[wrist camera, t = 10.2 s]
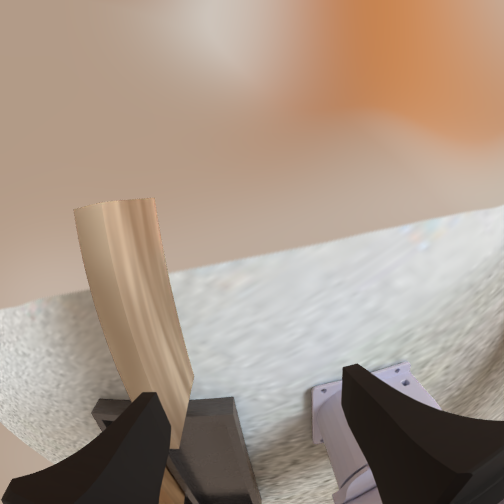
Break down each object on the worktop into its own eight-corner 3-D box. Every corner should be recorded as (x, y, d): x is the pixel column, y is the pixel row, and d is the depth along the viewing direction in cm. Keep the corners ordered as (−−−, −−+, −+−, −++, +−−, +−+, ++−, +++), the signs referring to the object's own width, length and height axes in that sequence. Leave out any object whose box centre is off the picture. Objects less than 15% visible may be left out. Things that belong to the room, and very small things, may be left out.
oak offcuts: (155, 437, 22) (143, 479, 16) (187, 490, 24) (182, 524, 19) (125, 435, 22) (110, 474, 16) (161, 488, 24) (155, 521, 19)
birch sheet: (154, 197, 18) (101, 202, 10) (194, 375, 21) (179, 449, 13) (134, 201, 18) (73, 209, 10) (176, 376, 21) (155, 448, 13)
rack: (233, 396, 22) (233, 414, 19) (261, 498, 26) (262, 511, 23) (99, 398, 21) (91, 412, 19) (165, 499, 25) (162, 510, 23)
